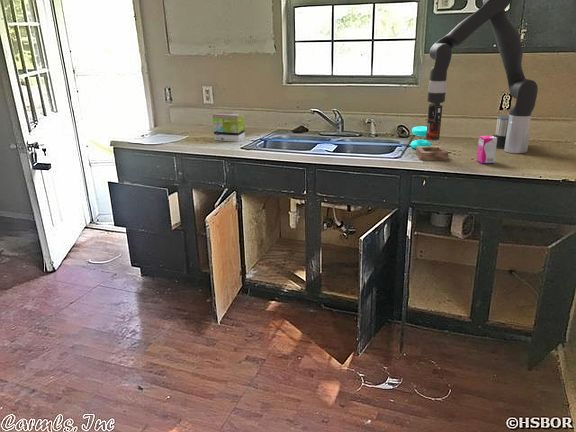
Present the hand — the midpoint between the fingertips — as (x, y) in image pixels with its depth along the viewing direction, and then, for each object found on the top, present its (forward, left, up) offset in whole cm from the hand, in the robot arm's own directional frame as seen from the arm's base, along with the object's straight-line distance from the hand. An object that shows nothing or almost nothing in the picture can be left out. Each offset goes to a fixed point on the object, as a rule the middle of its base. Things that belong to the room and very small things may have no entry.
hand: (433, 128), depth 216 cm
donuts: (+1, -18, -13) cm, 22 cm away
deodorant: (0, 0, -5) cm, 5 cm away
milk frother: (-38, -21, -13) cm, 45 cm away
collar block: (0, 0, -13) cm, 13 cm away
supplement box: (-21, +11, -13) cm, 27 cm away
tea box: (+102, -44, -13) cm, 112 cm away
